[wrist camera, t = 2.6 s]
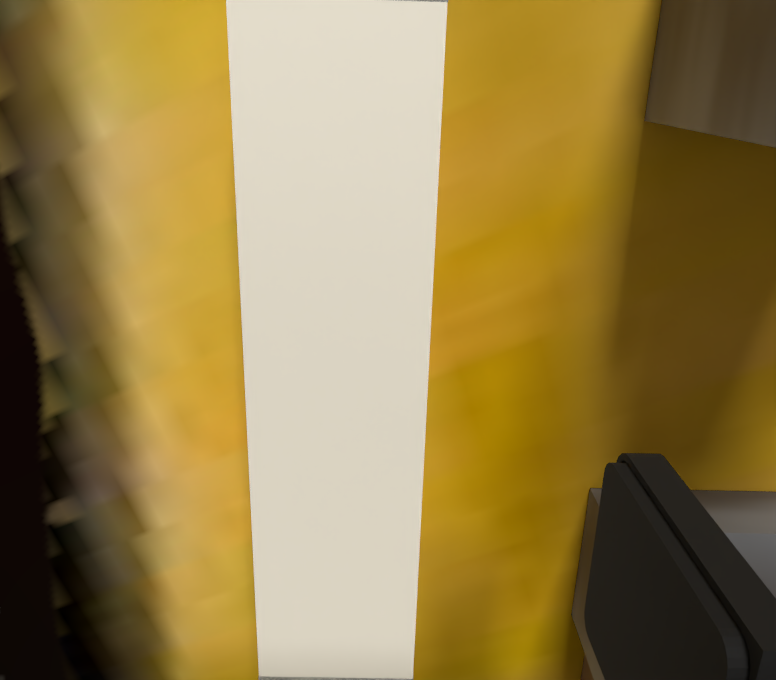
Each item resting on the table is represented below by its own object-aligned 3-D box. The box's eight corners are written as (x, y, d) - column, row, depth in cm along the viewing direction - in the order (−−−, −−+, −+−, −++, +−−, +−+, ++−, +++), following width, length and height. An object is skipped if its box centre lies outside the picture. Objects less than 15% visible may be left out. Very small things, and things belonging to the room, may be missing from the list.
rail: (270, -34, 16) (221, -78, 11) (431, -29, 16) (451, -70, 11) (287, 568, 21) (260, 709, 17) (405, 570, 21) (411, 711, 17)
